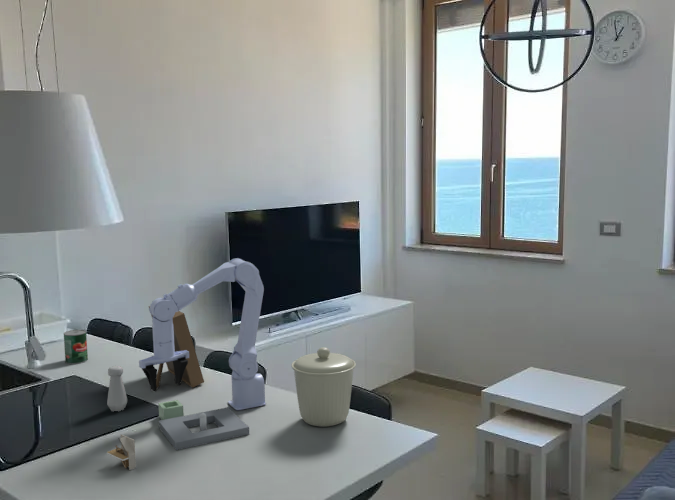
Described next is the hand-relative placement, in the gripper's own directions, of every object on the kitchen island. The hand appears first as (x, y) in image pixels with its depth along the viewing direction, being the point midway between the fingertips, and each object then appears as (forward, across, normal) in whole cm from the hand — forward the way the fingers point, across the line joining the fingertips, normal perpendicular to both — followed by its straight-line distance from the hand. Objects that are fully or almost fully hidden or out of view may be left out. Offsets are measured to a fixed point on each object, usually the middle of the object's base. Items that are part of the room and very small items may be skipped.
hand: (166, 387), depth 193 cm
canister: (+10, -32, +32) cm, 46 cm away
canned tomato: (+10, -3, -76) cm, 76 cm away
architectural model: (+10, +22, +20) cm, 32 cm away
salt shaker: (+10, +7, -17) cm, 21 cm away
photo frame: (+10, -17, -30) cm, 36 cm away
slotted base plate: (+9, -3, +15) cm, 18 cm away
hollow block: (+9, -1, 0) cm, 9 cm away
